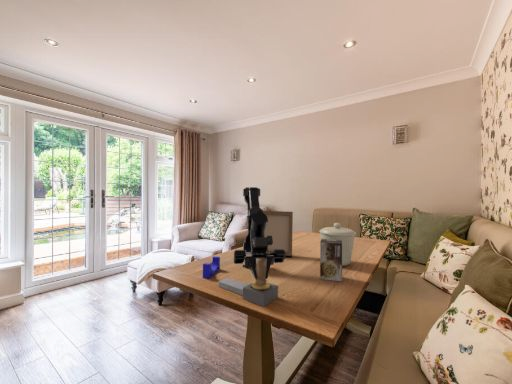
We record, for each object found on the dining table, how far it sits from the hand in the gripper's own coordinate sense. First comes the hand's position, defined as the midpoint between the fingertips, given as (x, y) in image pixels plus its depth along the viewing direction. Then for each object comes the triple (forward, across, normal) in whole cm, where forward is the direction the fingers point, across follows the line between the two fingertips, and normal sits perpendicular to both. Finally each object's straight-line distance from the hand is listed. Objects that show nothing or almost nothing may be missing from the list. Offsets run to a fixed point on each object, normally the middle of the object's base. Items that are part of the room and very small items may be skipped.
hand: (261, 278), depth 83 cm
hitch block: (+1, -5, +10) cm, 11 cm away
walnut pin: (+4, 0, +6) cm, 7 cm away
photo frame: (-36, +15, +46) cm, 60 cm away
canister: (-21, +45, +32) cm, 58 cm away
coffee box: (-7, +33, +18) cm, 38 cm away
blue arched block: (-14, -19, +25) cm, 35 cm away
